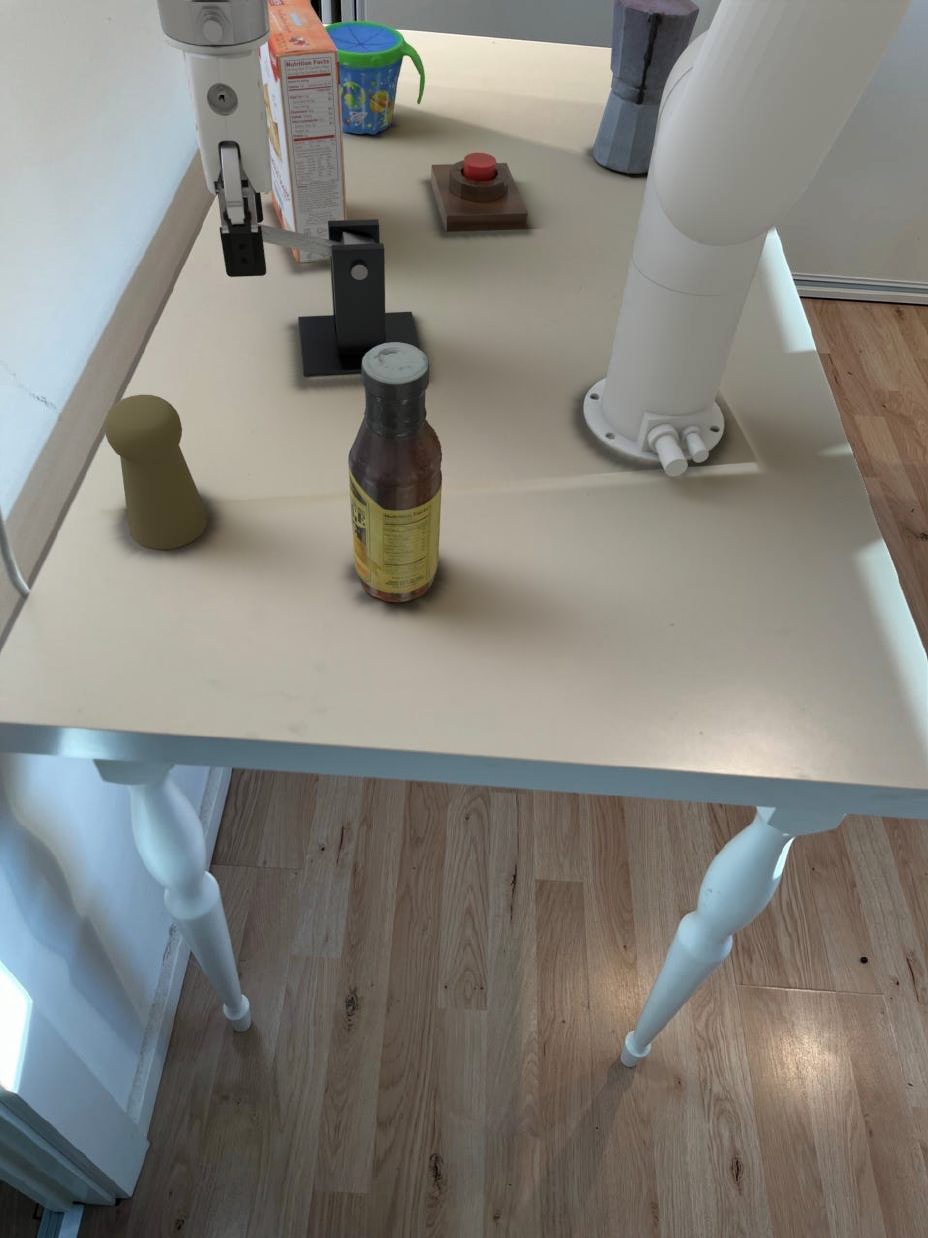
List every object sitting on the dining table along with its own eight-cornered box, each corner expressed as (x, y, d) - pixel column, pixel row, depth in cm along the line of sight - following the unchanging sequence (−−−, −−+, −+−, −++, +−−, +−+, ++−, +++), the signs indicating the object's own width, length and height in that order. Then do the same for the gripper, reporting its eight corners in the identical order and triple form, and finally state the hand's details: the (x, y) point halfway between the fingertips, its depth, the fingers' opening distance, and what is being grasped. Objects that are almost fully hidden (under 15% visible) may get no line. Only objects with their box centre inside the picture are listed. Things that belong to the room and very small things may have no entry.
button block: (525, 232, 105) (529, 197, 102) (446, 234, 104) (447, 199, 101) (505, 180, 113) (508, 146, 110) (431, 182, 111) (431, 148, 108)
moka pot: (664, 138, 122) (702, -42, 107) (669, 195, 113) (711, 5, 97) (591, 131, 123) (618, -50, 107) (589, 187, 113) (619, -4, 97)
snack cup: (431, 115, 123) (433, 28, 115) (412, 151, 116) (413, 61, 109) (316, 99, 125) (311, 12, 117) (291, 133, 118) (283, 43, 110)
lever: (229, 255, 77) (234, 228, 76) (229, 224, 80) (233, 197, 79) (371, 285, 81) (378, 260, 80) (365, 254, 85) (372, 230, 83)
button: (497, 182, 105) (499, 166, 103) (465, 183, 104) (466, 167, 103) (491, 167, 107) (493, 151, 106) (460, 168, 106) (461, 152, 105)
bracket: (304, 384, 86) (293, 264, 77) (299, 328, 91) (287, 210, 82) (424, 377, 87) (426, 259, 78) (411, 322, 93) (412, 206, 84)
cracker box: (269, 206, 106) (245, -7, 90) (321, 201, 107) (308, -10, 91) (294, 272, 98) (273, 50, 81) (351, 265, 99) (341, 45, 83)
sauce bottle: (362, 543, 73) (353, 318, 58) (442, 551, 73) (453, 329, 58) (347, 606, 69) (332, 383, 54) (431, 616, 69) (441, 394, 54)
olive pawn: (207, 492, 76) (183, 379, 68) (207, 546, 72) (182, 433, 64) (130, 498, 75) (96, 384, 67) (126, 552, 72) (89, 439, 63)
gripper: (273, 60, 61) (296, 302, 75) (264, -30, 72) (286, 195, 85) (153, 61, 60) (199, 307, 74) (163, -31, 71) (201, 198, 84)
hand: (245, 246), depth 79 cm, fingers open, 7 cm apart
